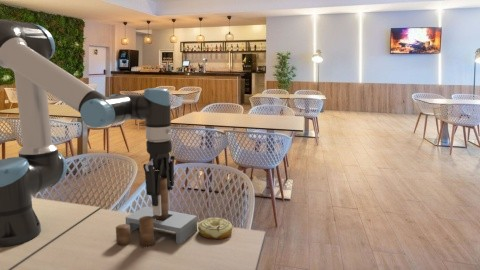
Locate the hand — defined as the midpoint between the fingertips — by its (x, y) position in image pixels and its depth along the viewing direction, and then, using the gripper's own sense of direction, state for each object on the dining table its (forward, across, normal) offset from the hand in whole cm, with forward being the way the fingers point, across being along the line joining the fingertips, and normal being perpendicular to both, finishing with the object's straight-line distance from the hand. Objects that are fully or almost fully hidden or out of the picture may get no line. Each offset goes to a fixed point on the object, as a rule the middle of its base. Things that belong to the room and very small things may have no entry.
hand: (161, 212), depth 118 cm
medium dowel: (+7, -9, -1) cm, 11 cm away
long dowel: (+4, 0, 0) cm, 4 cm away
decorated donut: (+7, +6, -16) cm, 18 cm away
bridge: (+7, 0, 0) cm, 7 cm away
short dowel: (+7, -11, +6) cm, 14 cm away
